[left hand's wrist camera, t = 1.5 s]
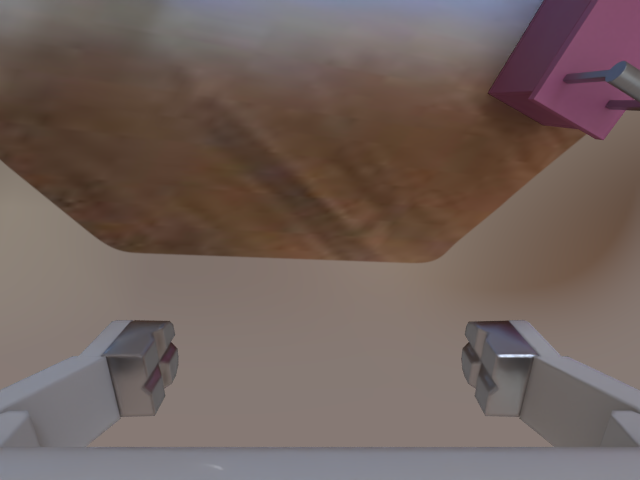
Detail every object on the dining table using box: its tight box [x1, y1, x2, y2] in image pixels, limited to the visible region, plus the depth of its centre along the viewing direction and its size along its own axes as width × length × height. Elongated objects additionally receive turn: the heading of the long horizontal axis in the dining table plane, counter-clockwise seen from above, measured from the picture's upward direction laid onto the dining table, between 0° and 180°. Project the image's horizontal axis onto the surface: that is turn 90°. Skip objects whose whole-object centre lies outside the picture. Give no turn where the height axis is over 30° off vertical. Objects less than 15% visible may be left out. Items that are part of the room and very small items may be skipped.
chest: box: [488, 0, 591, 129], centre depth 41 cm, size 15×9×11 cm, turn 154°
